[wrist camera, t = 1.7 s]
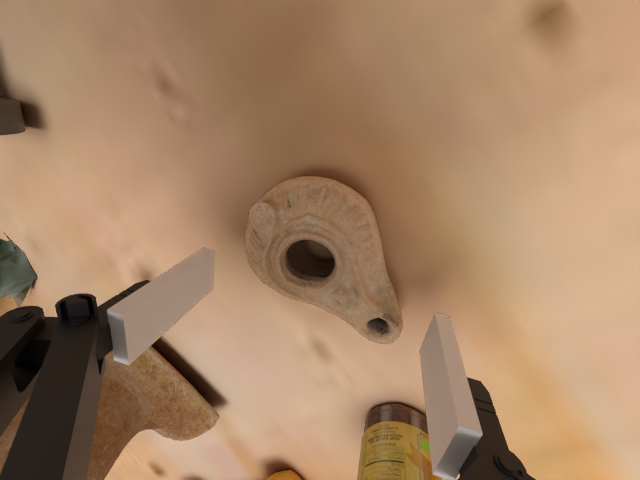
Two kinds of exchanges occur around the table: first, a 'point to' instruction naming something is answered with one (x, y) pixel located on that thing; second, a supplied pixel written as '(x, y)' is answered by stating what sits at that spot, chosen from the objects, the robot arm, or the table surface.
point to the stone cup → (136, 409)
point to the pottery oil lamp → (324, 253)
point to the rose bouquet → (14, 272)
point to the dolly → (10, 117)
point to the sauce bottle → (395, 445)
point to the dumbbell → (284, 475)
